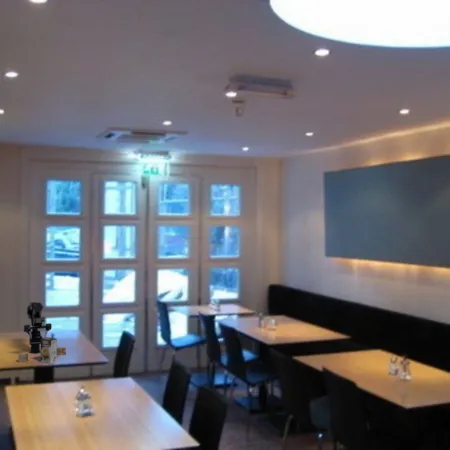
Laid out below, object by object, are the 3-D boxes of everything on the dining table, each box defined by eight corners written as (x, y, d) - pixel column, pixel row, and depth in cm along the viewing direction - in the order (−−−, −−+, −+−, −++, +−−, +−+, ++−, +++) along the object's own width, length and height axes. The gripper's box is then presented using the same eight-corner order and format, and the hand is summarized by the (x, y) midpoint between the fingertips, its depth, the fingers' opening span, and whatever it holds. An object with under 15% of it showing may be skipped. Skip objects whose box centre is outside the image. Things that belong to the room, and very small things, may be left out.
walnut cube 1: (20, 360, 415) (20, 353, 415) (28, 360, 415) (28, 353, 415) (18, 362, 410) (18, 354, 410) (25, 362, 410) (25, 354, 410)
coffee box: (40, 362, 410) (40, 338, 410) (46, 360, 416) (46, 337, 416) (50, 363, 407) (50, 339, 407) (57, 361, 413) (57, 338, 412)
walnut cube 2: (61, 353, 437) (61, 346, 436) (65, 354, 434) (65, 347, 434) (55, 355, 432) (55, 347, 432) (60, 356, 430) (60, 348, 429)
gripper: (24, 314, 421) (25, 334, 412) (51, 312, 428) (53, 332, 419) (23, 321, 429) (24, 341, 420) (50, 319, 436) (51, 339, 428)
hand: (38, 338), depth 422 cm, fingers open, 9 cm apart
